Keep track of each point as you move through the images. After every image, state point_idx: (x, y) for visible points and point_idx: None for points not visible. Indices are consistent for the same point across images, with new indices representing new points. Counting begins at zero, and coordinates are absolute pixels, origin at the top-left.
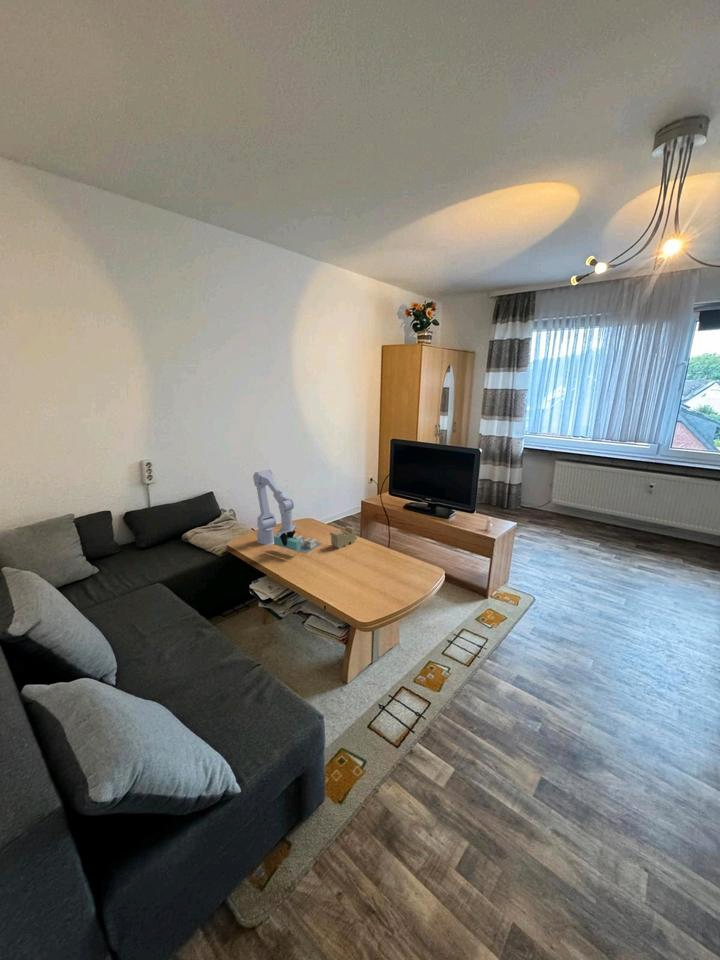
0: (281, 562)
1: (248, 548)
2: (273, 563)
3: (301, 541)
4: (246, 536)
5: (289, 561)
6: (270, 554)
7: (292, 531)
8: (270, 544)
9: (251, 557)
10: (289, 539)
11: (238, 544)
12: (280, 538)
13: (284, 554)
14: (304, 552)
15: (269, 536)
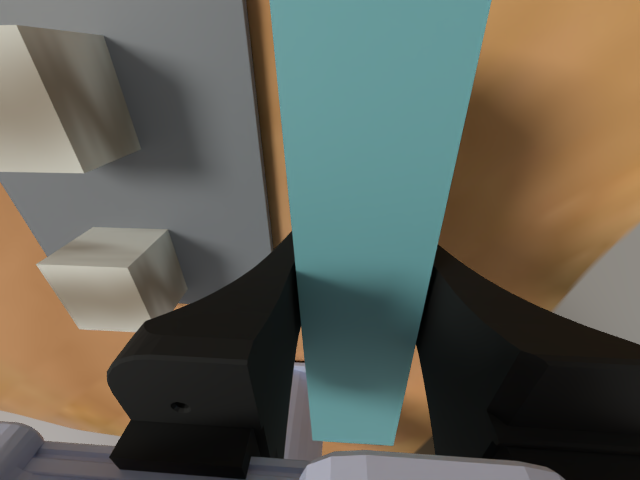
0: (555, 116)
1: (406, 412)
2: (594, 173)
3: (102, 233)
4: None
5: (507, 47)
6: None
7: (225, 397)
8: (304, 366)
9: None
10: (388, 256)
11: None
12: (405, 376)
13: None
14: (232, 31)
15: (295, 431)
